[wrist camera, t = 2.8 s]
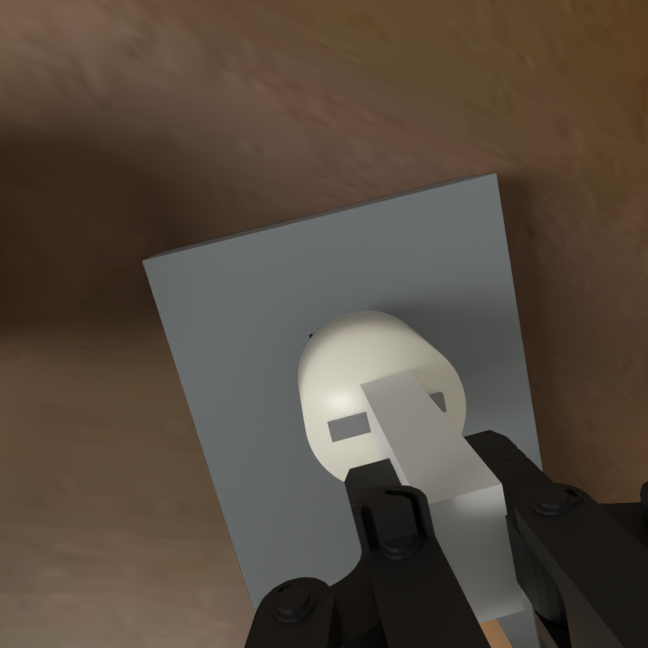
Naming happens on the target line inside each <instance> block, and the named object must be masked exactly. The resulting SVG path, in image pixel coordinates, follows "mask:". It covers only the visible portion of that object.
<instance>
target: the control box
mask: <svg viewBox="0 0 648 648" xmlns="http://www.w3.org/2000/svg"><path fill="white" fill-rule="evenodd" d="M142 262H143V265H144V268H145V271H146V274H147V277H148V280H149V284H150V287H151V290H152V293H153V296H154V299H155V302H156V306H157V309H158V312H159V315H160V318H161V321H162V324H163V327H164V331H165V334H166V337H167V340H168V343H169V346H170V349H171V352H172V356H173V359H174V362H175V365H176V368H177V371H178V374H179V378H180V381H181V384H182V387H183V390H184V393H185V396H186V399H187V403H188V406H189V409H190V412H191V415H192V418H193V421H194V425H195V428H196V431H197V434H198V437H199V440H200V443H201V446H202V450H203V453H204V456H205V459H206V462H207V465H208V468H209V472H210V475H211V478H212V481H213V484H214V487H215V490H216V493H217V497H218V500H219V503H220V506H221V509H222V512H223V515H224V518H225V522H226V525H227V528H228V531H229V534H230V537H231V540H232V544H233V547H234V550H235V553H236V556H237V559H238V562H239V565H240V569H241V572H242V575H243V578H244V581H245V584H246V587H247V591H248V594H249V597H250V600H251V603H252V606H253V609H254V612H255V613H256V610H257V608H258V606H259V605H260V603H261V601H262V599H263V597H265V596H266V595H267V594H268V593H269V592H270V591H271V590H272V589H273V588H274V587H276V586H278V585H280V584H282V583H284V582H285V581H287V580H291V579H295V578H299V577H314V578H317V579H319V580H322V581H324V582H326V583H327V584H328V586H331V585H333V584H335V583H337V582H338V581H340V580H341V579H343V578H344V577H346V576H347V575H348V574H349V573H350V572H351V571H352V570H353V569H354V568H355V567H356V565H357V564H358V562H359V560H360V557H361V553H362V551H361V546H360V542H359V538H358V534H357V530H356V526H355V522H354V518H353V515H352V511H351V507H350V503H349V499H348V495H347V491H346V487H345V483H344V482H343V481H341V480H340V479H338V478H337V477H335V476H334V475H332V474H331V473H330V472H329V471H327V470H326V469H325V467H324V466H323V465H322V464H321V463H320V462H319V460H318V459H317V458H316V456H315V455H314V453H313V451H312V449H311V447H310V444H309V441H308V438H307V434H306V429H305V423H304V418H303V412H302V406H301V400H300V394H299V388H298V378H297V374H298V365H299V361H300V357H301V355H302V352H303V350H304V348H305V346H306V344H307V342H308V341H309V340H310V337H309V335H310V334H314V333H315V332H316V331H317V330H318V329H319V328H320V327H322V326H323V325H324V324H325V323H327V322H328V321H330V320H331V319H333V318H335V317H337V316H339V315H342V314H345V313H348V312H353V311H358V310H373V311H379V312H384V313H387V314H390V315H392V316H394V317H396V318H398V319H400V320H402V321H403V322H404V323H406V324H407V325H408V326H409V327H411V328H412V329H413V330H414V331H415V332H416V333H418V334H419V335H420V336H421V337H422V338H423V339H424V340H426V341H427V342H428V343H429V344H430V345H431V346H433V347H434V348H435V349H436V350H437V351H438V352H440V353H441V354H442V355H443V356H444V357H445V358H446V359H447V360H448V361H449V362H450V364H451V365H452V366H453V367H454V369H455V371H456V372H457V374H458V376H459V378H460V381H461V383H462V385H463V389H464V393H465V400H466V417H465V423H464V427H463V431H462V434H461V435H462V436H463V437H464V436H468V435H472V434H475V433H479V432H483V431H487V430H492V431H494V432H497V433H499V434H502V435H504V436H507V437H508V438H509V439H510V440H511V441H512V442H513V443H514V444H515V445H516V446H517V448H518V449H520V450H521V451H522V452H523V453H524V454H525V455H526V457H527V458H529V459H530V460H531V461H532V462H533V463H534V464H535V465H536V466H537V467H538V468H539V469H540V470H541V471H542V472H543V470H542V463H541V457H540V451H539V444H538V438H537V431H536V425H535V419H534V412H533V406H532V399H531V393H530V386H529V380H528V374H527V367H526V361H525V354H524V348H523V342H522V335H521V329H520V322H519V316H518V310H517V303H516V297H515V290H514V284H513V277H512V271H511V265H510V258H509V252H508V245H507V239H506V233H505V226H504V220H503V213H502V207H501V201H500V194H499V188H498V181H497V175H496V173H493V174H486V175H478V176H471V177H463V178H458V179H454V180H450V181H446V182H442V183H438V184H434V185H430V186H426V187H422V188H418V189H414V190H410V191H405V192H401V193H397V194H393V195H389V196H385V197H381V198H377V199H373V200H369V201H365V202H361V203H357V204H353V205H349V206H345V207H341V208H337V209H333V210H329V211H325V212H321V213H317V214H312V215H308V216H304V217H300V218H296V219H292V220H288V221H284V222H280V223H276V224H272V225H268V226H264V227H260V228H256V229H252V230H248V231H244V232H240V233H236V234H232V235H228V236H224V237H219V238H215V239H211V240H207V241H203V242H199V243H195V244H191V245H187V246H183V247H179V248H175V249H171V250H167V251H163V252H160V253H158V254H156V255H154V256H152V257H149V258H147V259H145V260H143V261H142ZM520 589H521V587H520ZM521 595H522V600H523V606H524V611H521V612H518V613H514V614H511V615H507V616H503V617H500V618H496V619H497V621H498V622H499V624H500V626H501V628H502V630H503V631H504V633H505V635H506V637H507V639H508V640H509V642H510V644H511V646H512V648H539V644H538V639H537V633H536V627H535V621H534V615H533V610H532V604H531V602H530V601H529V599H528V598H527V596H526V595H525V593H524V592H523V590H522V589H521Z"/></svg>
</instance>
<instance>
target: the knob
mask: <svg viewBox="0 0 648 648" xmlns="http://www.w3.org/2000/svg"><path fill="white" fill-rule="evenodd" d="M406 372H410V373H411V374H412V376H413V377H414V378H415V379H416V380H417V382H418V383H419V384H420V385H421V386H422V388H423V389H424V390H425V391H426V393H427V394H428V395H429V396H430V397H431V399H432V400H433V401H434V402H435V403H436V405H437V406H438V407H439V408H440V410H441V411H442V412H443V413H444V414H445V416H446V417H447V418H448V419H449V420H450V422H451V423H452V424H453V425H454V426H455V428H456V429H457V430H458V431H459V433H460V434H462V431H463V427H464V423H465V417H466V400H465V393H464V389H463V385H462V383H461V381H460V378H459V376H458V374H457V372H456V371H455V369H454V367H453V366H452V365H451V364H450V362H449V361H448V360H447V359H446V358H445V357H444V356H443V355H442V354H441V353H440V352H438V351H437V350H436V349H435V348H434V347H433V346H431V345H430V344H429V343H428V342H427V341H426V340H424V339H423V338H422V337H421V336H420V335H419V334H418V333H416V332H415V331H414V330H413V329H412V328H411V327H409V326H408V325H407V324H406V323H404V322H403V321H402V320H400V319H398V318H396V317H394V316H392V315H390V314H387V313H384V312H379V311H373V310H358V311H353V312H348V313H345V314H342V315H339V316H337V317H335V318H333V319H331V320H330V321H328V322H327V323H325V324H324V325H323V326H322V327H320V328H319V329H318V330H317V331H316V332H315V333H314V334H313V335H312V337H311V338H310V340H309V341H308V342H307V344H306V346H305V348H304V350H303V352H302V355H301V357H300V361H299V365H298V374H297V378H298V388H299V394H300V400H301V406H302V412H303V418H304V423H305V429H306V434H307V438H308V441H309V444H310V447H311V449H312V451H313V453H314V455H315V456H316V458H317V459H318V460H319V462H320V463H321V464H322V465H323V466H324V467H325V469H326V470H327V471H329V472H330V473H331V474H332V475H334V476H335V477H337V478H338V479H340V480H341V481H343V482H344V481H345V479H346V476H347V474H348V471H349V469H351V468H354V467H358V466H362V465H366V464H369V463H373V462H377V461H378V460H377V455H376V451H375V447H374V443H373V438H372V434H371V430H370V426H369V421H368V417H367V413H366V409H365V404H364V400H363V396H362V392H361V387H360V384H364V383H368V382H371V381H375V380H379V379H383V378H387V377H391V376H394V375H398V374H402V373H406Z"/></svg>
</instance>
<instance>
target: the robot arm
mask: <svg viewBox="0 0 648 648" xmlns="http://www.w3.org/2000/svg"><path fill="white" fill-rule="evenodd" d="M360 387H361V392H362V396H363V400H364V404H365V409H366V413H367V417H368V421H369V426H370V430H371V434H372V438H373V443H374V447H375V451H376V455H377V460H378V461H377V462H373V463H369V464H366V465H362V466H358V467H354V468H351V469H349V471H348V474H347V476H346V479H345V481H344V483H345V487H346V491H347V495H348V499H349V503H350V507H351V511H352V515H353V518H354V522H355V526H356V530H357V534H358V538H359V542H360V546H361V551H362V553H361V557H360V560H359V562H358V564H357V565H356V567H355V568H354V569H353V570H352V571H351V572H350V573H349V574H348V575H347V576H346V577H344V578H343V579H341V580H340V581H338V582H337V583H335V584H333V585H331V586H328V584H327V583H326V582H324V581H322V580H319V579H317V578H314V577H299V578H295V579H291V580H287V581H285V582H284V583H282V584H280V585H278V586H276V587H274V588H273V589H272V590H271V591H270V592H269V593H268V594H267V595H266V596H265V597H263V599H262V601H261V603H260V605H259V606H258V608H257V610H256V613H255V616H254V619H253V623H252V626H251V629H250V632H249V635H248V638H247V641H246V644H245V647H244V648H491V646H490V644H489V642H488V640H487V638H486V636H485V634H484V632H483V630H482V628H481V626H480V624H479V623H482V622H486V621H489V620H493V619H496V618H500V617H503V616H507V615H511V614H514V613H518V612H521V611H524V606H523V600H522V595H521V589H522V590H523V592H524V593H525V595H526V596H527V598H528V599H529V601H530V602H531V604H532V610H533V615H534V621H535V627H536V633H537V639H538V644H539V648H648V481H647V482H646V483H644V484H643V485H642V488H641V492H640V497H641V502H636V503H618V504H599V503H597V502H596V501H594V500H593V499H592V498H591V497H590V496H589V495H588V494H587V493H585V492H583V491H582V490H580V489H579V488H577V487H573V486H570V485H566V484H558V483H553V482H552V481H551V480H550V479H549V478H548V477H547V476H546V475H545V474H544V473H543V472H542V471H541V470H540V469H539V468H538V467H537V466H536V465H535V464H534V463H533V462H532V461H531V460H530V459H529V458H527V457H526V455H525V454H524V453H523V452H522V451H521V450H520V449H518V448H517V446H516V445H515V444H514V443H513V442H512V441H511V440H510V439H509V438H508V437H507V436H504V435H502V434H499V433H497V432H494V431H492V430H487V431H483V432H479V433H475V434H472V435H468V436H464V437H463V436H462V435H461V434H460V433H459V431H458V430H457V429H456V428H455V426H454V425H453V424H452V423H451V422H450V420H449V419H448V418H447V417H446V416H445V414H444V413H443V412H442V411H441V410H440V408H439V407H438V406H437V405H436V403H435V402H434V401H433V400H432V399H431V397H430V396H429V395H428V394H427V393H426V391H425V390H424V389H423V388H422V386H421V385H420V384H419V383H418V382H417V380H416V379H415V378H414V377H413V376H412V374H411V373H410V372H406V373H402V374H398V375H394V376H391V377H387V378H383V379H379V380H375V381H371V382H368V383H364V384H360ZM520 587H521V589H520Z"/></svg>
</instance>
